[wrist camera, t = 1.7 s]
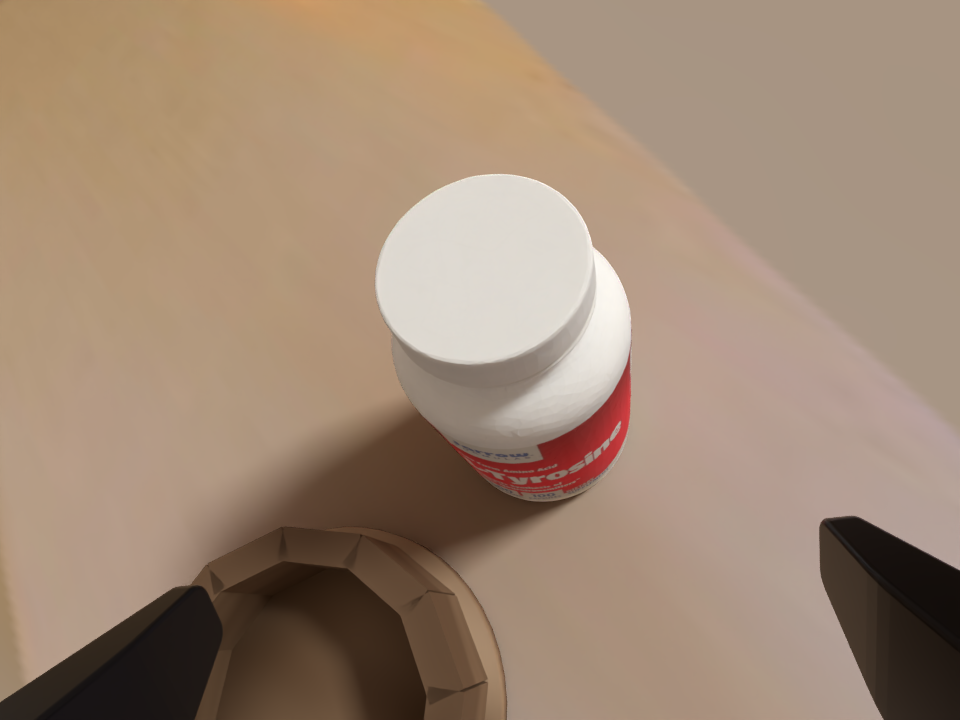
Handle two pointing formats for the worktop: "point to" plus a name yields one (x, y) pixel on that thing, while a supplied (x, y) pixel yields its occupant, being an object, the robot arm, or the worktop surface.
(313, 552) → the collar stand
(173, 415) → the worktop surface
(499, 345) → the pill bottle
